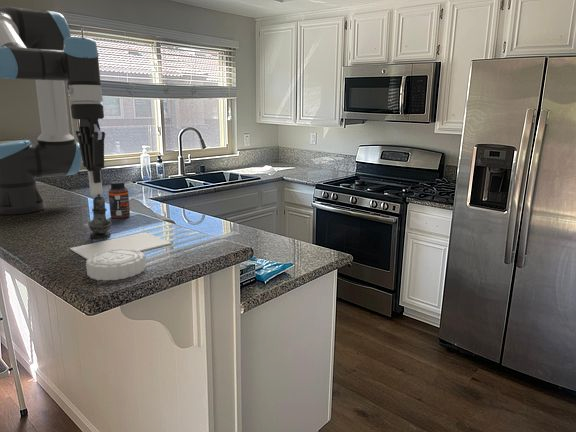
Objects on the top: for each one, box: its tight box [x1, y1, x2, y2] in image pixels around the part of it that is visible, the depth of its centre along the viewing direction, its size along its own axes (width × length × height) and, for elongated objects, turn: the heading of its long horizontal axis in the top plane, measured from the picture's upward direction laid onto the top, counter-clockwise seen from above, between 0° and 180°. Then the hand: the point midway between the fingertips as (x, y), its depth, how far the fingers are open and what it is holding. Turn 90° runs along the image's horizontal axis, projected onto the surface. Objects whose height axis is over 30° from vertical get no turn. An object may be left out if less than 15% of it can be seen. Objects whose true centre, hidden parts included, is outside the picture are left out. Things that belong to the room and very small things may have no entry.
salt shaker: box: [87, 194, 112, 240], centre depth 119 cm, size 6×6×12 cm
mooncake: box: [85, 249, 147, 281], centre depth 96 cm, size 12×12×4 cm
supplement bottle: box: [108, 180, 131, 219], centre depth 142 cm, size 6×6×11 cm
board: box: [69, 231, 172, 260], centre depth 112 cm, size 14×20×1 cm
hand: (96, 194), depth 118 cm, fingers closed
